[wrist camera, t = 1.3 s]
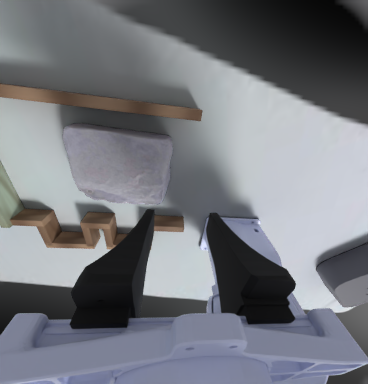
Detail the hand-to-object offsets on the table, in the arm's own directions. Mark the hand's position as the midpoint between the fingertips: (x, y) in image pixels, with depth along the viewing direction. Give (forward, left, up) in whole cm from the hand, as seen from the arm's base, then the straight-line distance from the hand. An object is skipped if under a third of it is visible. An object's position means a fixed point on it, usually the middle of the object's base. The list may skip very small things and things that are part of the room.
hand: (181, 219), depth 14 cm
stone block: (+7, -1, -10) cm, 12 cm away
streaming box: (-43, +20, -10) cm, 49 cm away
